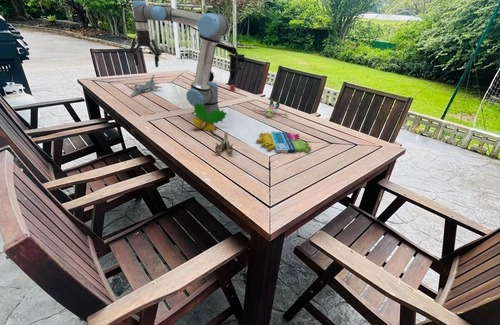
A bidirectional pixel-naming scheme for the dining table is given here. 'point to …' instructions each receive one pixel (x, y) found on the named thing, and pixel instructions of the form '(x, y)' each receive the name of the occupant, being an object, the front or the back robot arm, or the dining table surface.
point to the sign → (283, 142)
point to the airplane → (145, 87)
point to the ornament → (207, 117)
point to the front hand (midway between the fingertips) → (147, 66)
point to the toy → (271, 109)
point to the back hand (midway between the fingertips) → (232, 79)
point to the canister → (232, 87)
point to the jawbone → (224, 145)
